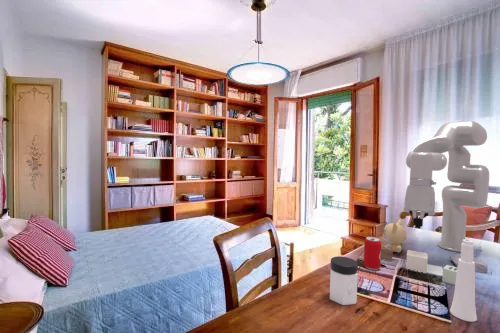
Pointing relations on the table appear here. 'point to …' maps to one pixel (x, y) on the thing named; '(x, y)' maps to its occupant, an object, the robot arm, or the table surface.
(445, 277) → the sage cube
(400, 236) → the kitten
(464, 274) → the cosmetic bottle
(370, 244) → the beverage can
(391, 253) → the walnut cube
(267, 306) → the table surface
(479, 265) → the stone block
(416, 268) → the cream block
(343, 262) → the jar
